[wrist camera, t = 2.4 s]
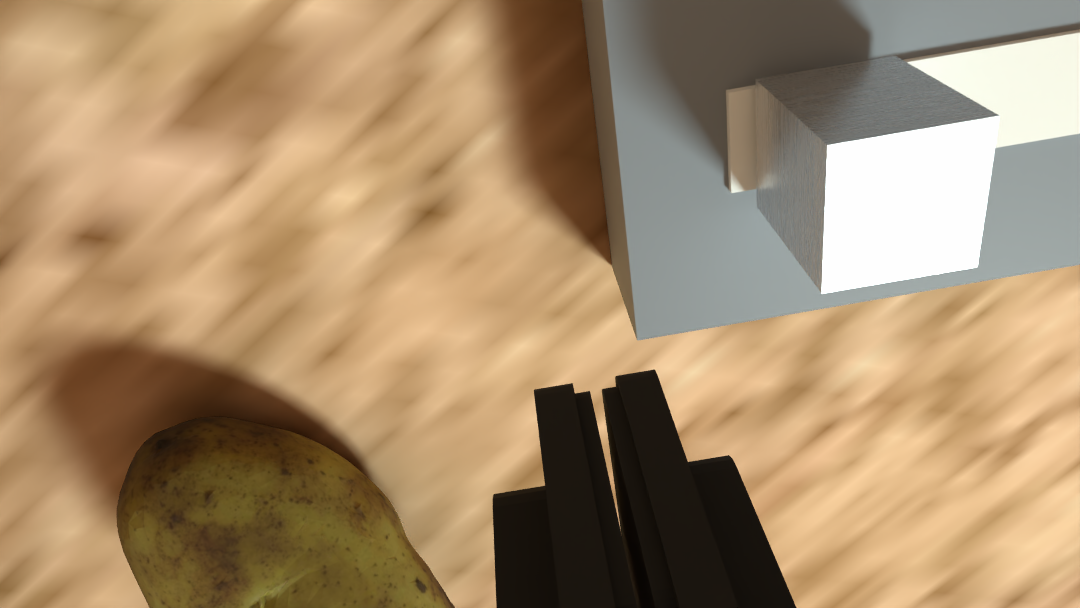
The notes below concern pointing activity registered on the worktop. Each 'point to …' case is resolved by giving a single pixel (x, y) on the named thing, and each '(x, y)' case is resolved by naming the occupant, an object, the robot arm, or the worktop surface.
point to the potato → (263, 525)
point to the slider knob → (873, 171)
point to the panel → (730, 140)
